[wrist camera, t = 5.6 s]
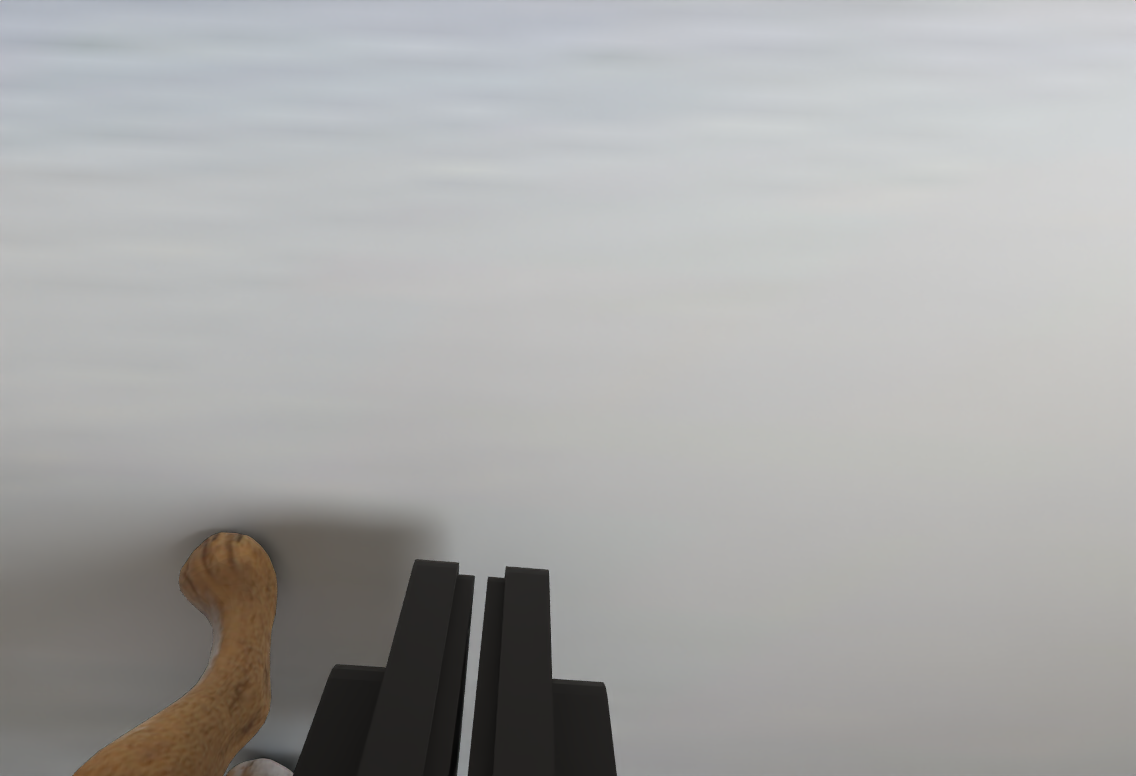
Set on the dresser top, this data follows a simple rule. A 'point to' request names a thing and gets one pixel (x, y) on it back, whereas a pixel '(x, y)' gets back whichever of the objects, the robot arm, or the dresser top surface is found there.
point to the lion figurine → (212, 674)
